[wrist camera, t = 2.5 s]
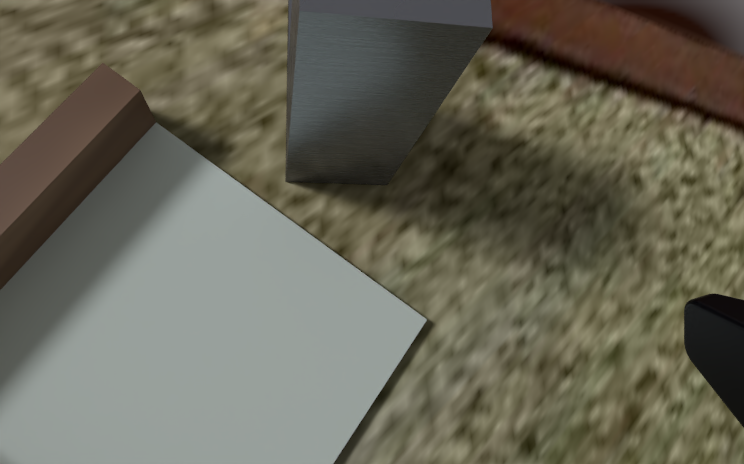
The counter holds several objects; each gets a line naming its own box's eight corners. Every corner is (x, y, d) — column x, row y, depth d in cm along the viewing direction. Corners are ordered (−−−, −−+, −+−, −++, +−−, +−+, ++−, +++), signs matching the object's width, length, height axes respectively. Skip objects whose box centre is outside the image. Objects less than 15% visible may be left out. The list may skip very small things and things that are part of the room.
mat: (424, 320, 21) (426, 319, 21) (183, 689, 17) (181, 697, 17) (126, 103, 21) (123, 98, 21) (-186, 427, 17) (-196, 428, 17)
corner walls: (424, 320, 21) (448, 314, 18) (183, 689, 17) (165, 755, 14) (126, 103, 21) (102, 62, 18) (-186, 427, 17) (-278, 441, 14)
